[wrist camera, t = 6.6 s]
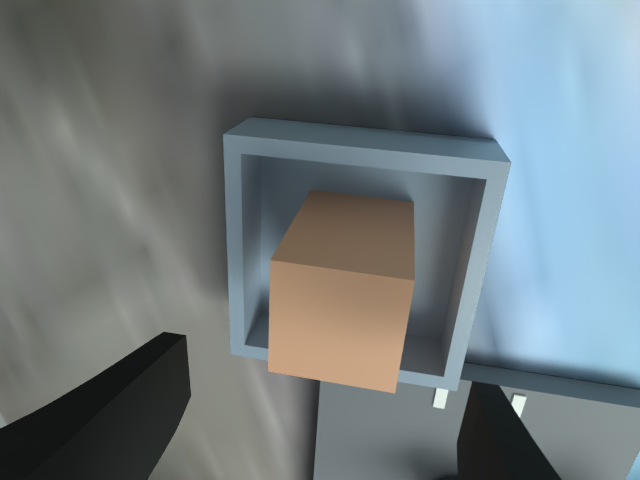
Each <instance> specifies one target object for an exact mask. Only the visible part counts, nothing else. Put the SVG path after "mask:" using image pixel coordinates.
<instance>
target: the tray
mask: <svg viewBox="0 0 640 480" xmlns="http://www.w3.org/2000/svg"><path fill="white" fill-rule="evenodd" d="M223 147H224V176H225V205H226V233H227V262H228V290H229V319H230V347H231V355H237V356H243V357H249V358H256V359H262V360H268V346H269V295H270V260H271V258H272V256H273V254H274V253H275V251H276V249H277V248H278V246H279V244H280V242H281V241H282V239H283V237H284V236H285V234H286V232H287V230H288V229H289V227H290V225H291V223H292V222H293V220H294V218H295V217H296V215H297V213H298V211H299V210H300V208H301V206H302V205H303V203H304V201H305V199H306V198H307V196H308V194H309V193H310V191H311V190H318V191H326V192H334V193H343V194H351V195H359V196H367V197H376V198H384V199H392V200H401V201H409V202H414V234H415V283H414V289H413V295H412V300H411V306H410V312H409V317H408V323H407V329H406V334H405V340H404V346H403V351H402V357H401V363H400V369H399V374H398V380H397V382H403V383H409V384H415V385H421V386H427V387H433V388H439V389H445V390H452V391H457V389H458V384H459V380H460V376H461V372H462V368H463V363H464V359H465V355H466V351H467V347H468V342H469V338H470V334H471V330H472V326H473V321H474V317H475V313H476V309H477V305H478V300H479V296H480V292H481V288H482V284H483V279H484V275H485V271H486V267H487V263H488V258H489V254H490V250H491V246H492V242H493V237H494V233H495V229H496V225H497V221H498V216H499V212H500V208H501V204H502V200H503V195H504V191H505V187H506V183H507V179H508V174H509V170H510V166H511V161H510V160H509V159H508V157H507V156H506V154H505V153H504V151H503V150H502V148H501V147H500V145H499V144H498V142H497V141H496V140H494V139H483V138H472V137H461V136H451V135H440V134H429V133H418V132H408V131H397V130H386V129H375V128H365V127H354V126H343V125H332V124H322V123H311V122H300V121H290V120H279V119H268V118H257V117H250V118H248V119H246V120H245V121H243V122H242V123H240V124H238V125H237V126H235V127H234V128H232V129H230V130H229V131H227V132H226V133H224V134H223Z"/></svg>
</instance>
